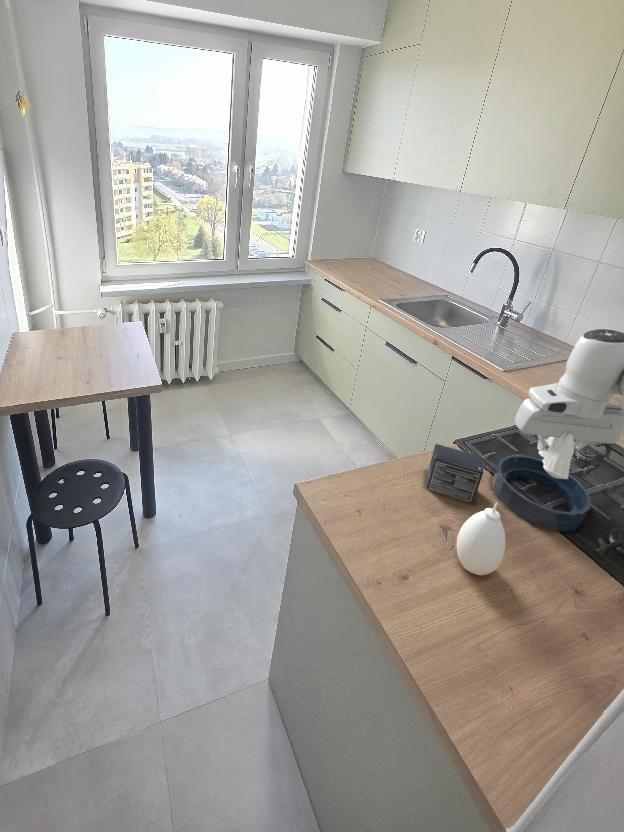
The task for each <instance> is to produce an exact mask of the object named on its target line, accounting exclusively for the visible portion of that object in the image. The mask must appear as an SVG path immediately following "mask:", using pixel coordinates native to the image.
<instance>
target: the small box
mask: <svg viewBox="0 0 624 832" xmlns="http://www.w3.org/2000/svg"><path fill="white" fill-rule="evenodd" d="M484 473H485V470H484V462H483V457H482V456H481V455H478V454H474V453H470V452H467V451H464V450H460V449H456V448H454V447H449V446H446V445H442V444H439V443H435V444H434V448H433V451H432V455H431V459H430V462H429V467H428V470H427V473H426V489H427V490H429V491H433V492H436V493H439V494H442V495H445V496H447V497H451V498H454V499H457V500H460V501H464V502H466V503H470V504H475V503H474V502H475V498H476V496H477V493H478V490H479V488H480V484H481V481H482V478H483V475H484Z"/></svg>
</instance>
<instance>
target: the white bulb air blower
mask: <svg viewBox="0 0 624 832" xmlns="http://www.w3.org/2000/svg"><path fill="white" fill-rule="evenodd" d="M497 507H498V502H497V501H496V502H495V503H494V505H493V508H492V507H486V508H485V509H484V510H481V511H479V512H476V513H474V514H473V515H471V516H470V517H469V518H468V519H467V520H466V521H465V522H464V523H463V525H461V528H460V530H459V532H458V535H457V538H456V554H457V557H458V560H459V563H460V565H461V566H462V567H463V568H464V569H465V570H466V571H467V572H469V573H471V574H473V575H476V576H486V575H489V574H491V573H494V572H495V571H496V570H497V569H498V567H500V565H501V563H502V562H503V558H504V555H505V552H506V533H505V528H504V524H503V522H502V520H501V514H500V512H499V511H498V510H497Z"/></svg>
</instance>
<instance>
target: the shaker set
mask: <svg viewBox="0 0 624 832" xmlns="http://www.w3.org/2000/svg"><path fill="white" fill-rule="evenodd" d="M566 434H567V433H564V434H563V435H562V436H561V437H560V438H556V437H549V438H548V439H547V440H546V439H545V441H546V442H547V443H548V444H549V445H550V447H549V449H548V451H541V450H539V448H538V447H537V450H538V454H539V456H541V457H543V458H542V460H543V461H542V462H543V463H544V466H543V468H544V470H545V471H546V472H547V473H548V474H549V475H550V476H552V477H554V478H559V479H568V475H569V474H570V467H571V460H572V458H573V455H574V454H573V452H574V442H575V440H574V439H573V435H572V434H568V435H567V436H566Z"/></svg>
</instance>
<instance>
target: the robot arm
mask: <svg viewBox="0 0 624 832" xmlns="http://www.w3.org/2000/svg"><path fill="white" fill-rule="evenodd" d="M527 394H528V396H529V397H528V398H526V399H525V400H523V401H522V403H521V404H520V407H519V408H518V410H517V413H516V415H515V418H514V424H515V425H516V426H515V427H517V429H518V430H519V431H520V432H521V433H522V434H523V435H531V436H532V435H533V436H536V437H537V440H538V442H537V445H536V447H537V449H538V448H539V449H538V451H539V450H541V451H548V449H549V447H550V445H549V444H548V443H547V442H546V441H545V439H546V440H547V439H548V438H549V437H556V438H560V437H561V436H562V435H563V434H564V433H567V434H566V436H567V435H568V434H572V435H573V440H574V452H573V455H575V456H577V455H578V454H579V452H580V450H582V449H584V448H585V447H587V446H588V445H589V444H590V442H591V443H600V444H607V445H609V444H610V445H614V444H616V443H618V442H619V441H620V439H621V437H622V435H623V432H624V405H623V404H620V403H611V402H610V399H611V398H612V396H613V395H620V396H623V397H624V332H623V331H618V330H615V329H609V328H608V329H606V328H597V329H592V330H589V331H586V332H584V333H583V334H582V335H581V336H580V337H579V339H578V340H577V341H576V342H575V345H574V347H573V348H572V350H571V352H570V354H569V356H568V358H567V360H566V364H565V372H564V374H563V375H562V376H561V377H560V378H559V380H558V382H554V383H551V384H545V385H539V386H532V387H531V388H529V390H528V393H527Z"/></svg>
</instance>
